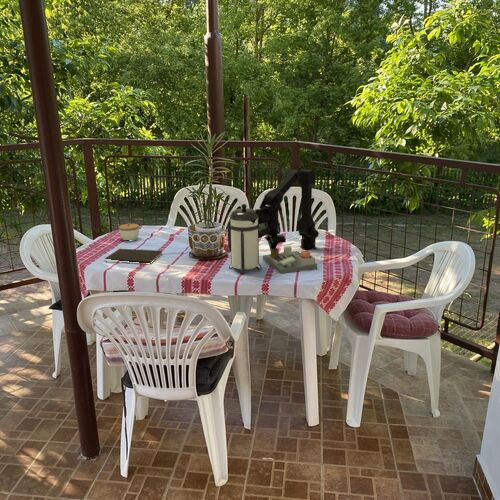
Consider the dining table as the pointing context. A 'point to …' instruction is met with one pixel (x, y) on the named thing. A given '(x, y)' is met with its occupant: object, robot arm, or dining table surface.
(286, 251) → the offwhite knob
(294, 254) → the panel
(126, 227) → the lidded jar
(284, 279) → the dining table surface
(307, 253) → the red button
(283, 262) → the green rocker
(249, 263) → the coffee press
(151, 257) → the hardcover book
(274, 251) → the walnut knob
